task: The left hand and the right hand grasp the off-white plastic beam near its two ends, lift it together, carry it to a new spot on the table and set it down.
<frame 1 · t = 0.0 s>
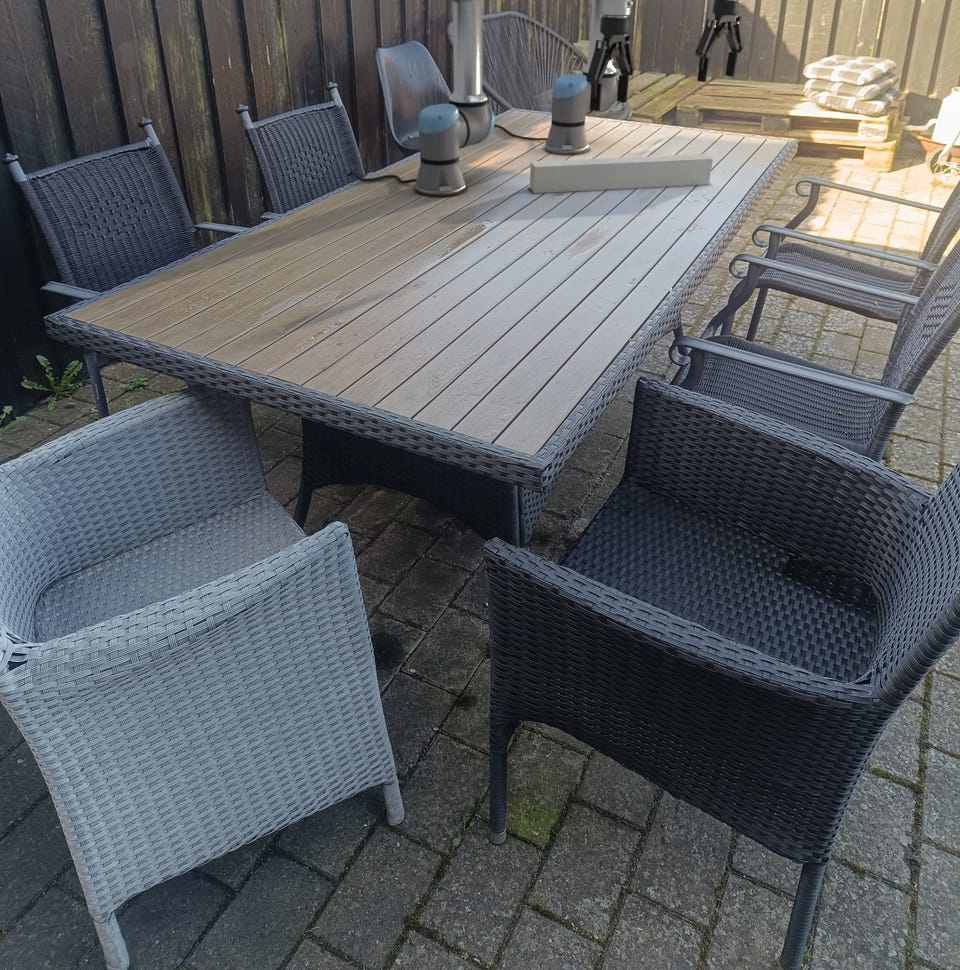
left hand: (608, 106, 226), 28 cm above the table, tool pointing down, fingers open, 13 cm apart
right hand: (715, 78, 257), 28 cm above the table, tool pointing down, fingers open, 13 cm apart
beam: (619, 186, 262), on the table
red rounded lump: (624, 173, 273), on the table
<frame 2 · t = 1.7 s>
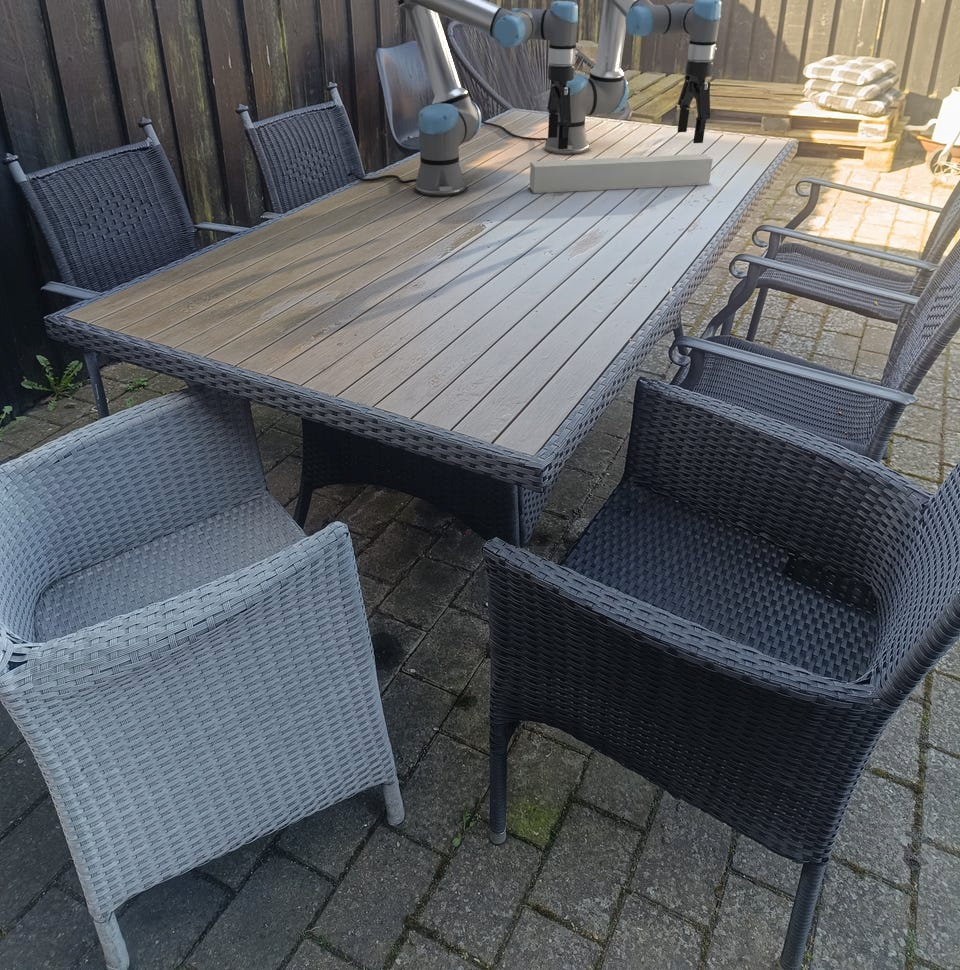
left hand: (557, 143, 251), 14 cm above the table, tool pointing down, fingers open, 13 cm apart
right hand: (689, 137, 256), 14 cm above the table, tool pointing down, fingers open, 13 cm apart
nothing on the table moved.
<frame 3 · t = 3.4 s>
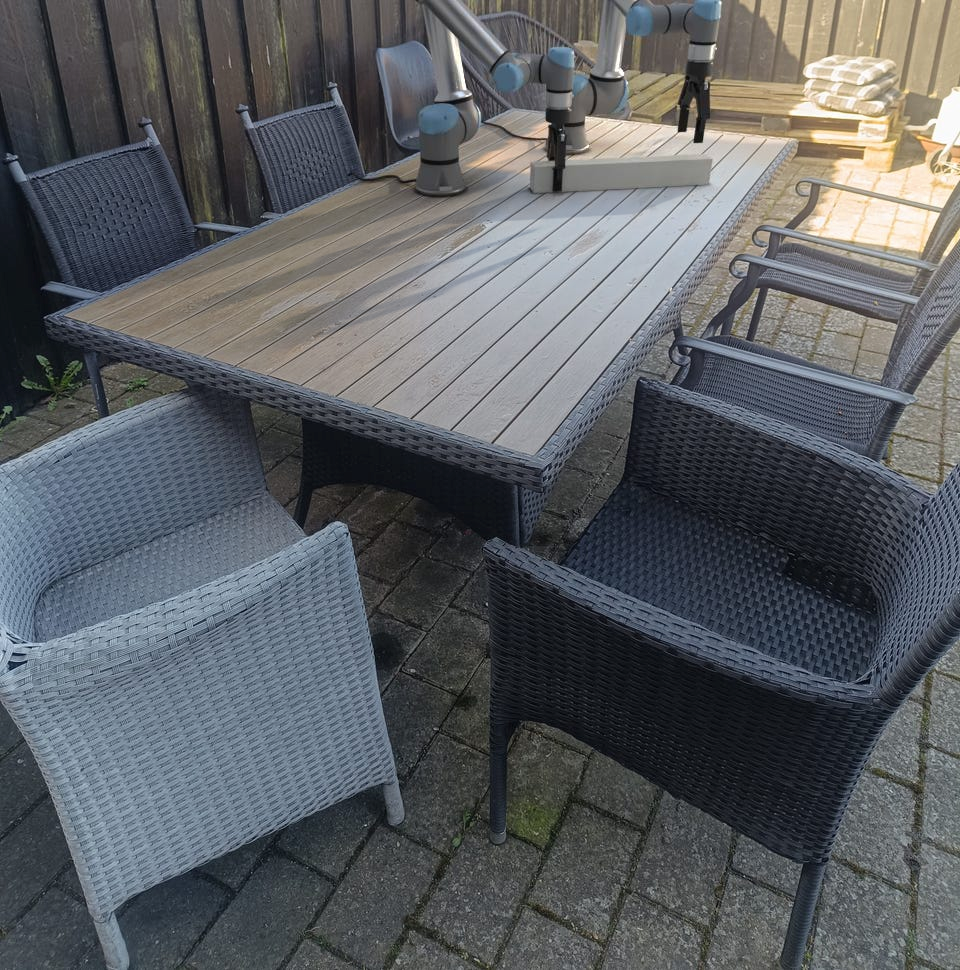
left hand: (554, 187, 259), 0 cm above the table, tool pointing down, fingers closed on beam, 6 cm apart
right hand: (689, 137, 256), 14 cm above the table, tool pointing down, fingers open, 13 cm apart
beam: (619, 186, 262), on the table, touching left hand
everything else where it was.
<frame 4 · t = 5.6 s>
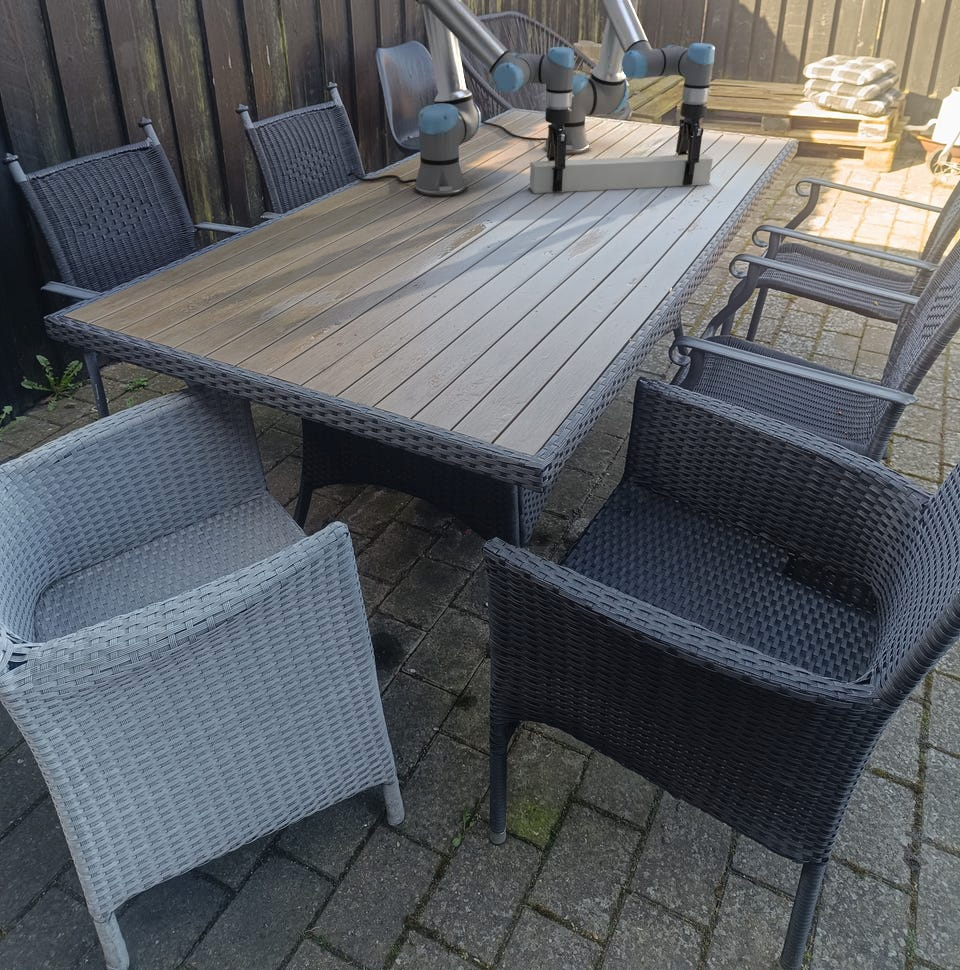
left hand: (554, 187, 259), 0 cm above the table, tool pointing down, fingers closed on beam, 6 cm apart
right hand: (683, 181, 264), 0 cm above the table, tool pointing down, fingers closed on beam, 6 cm apart
beam: (619, 186, 262), on the table, touching left hand, right hand
everything else where it was.
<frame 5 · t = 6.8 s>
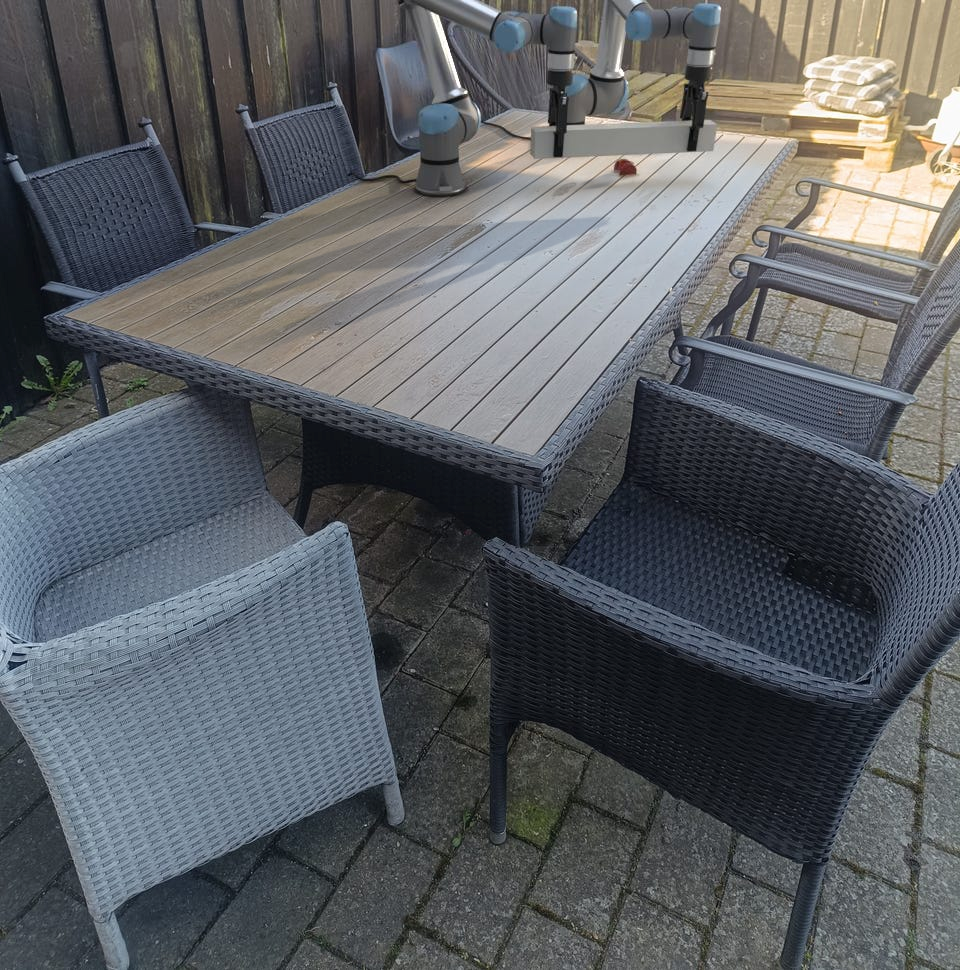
left hand: (555, 153, 253), 11 cm above the table, tool pointing down, fingers closed on beam, 6 cm apart
right hand: (687, 147, 258), 11 cm above the table, tool pointing down, fingers closed on beam, 6 cm apart
beam: (622, 152, 256), point 10 cm above the table, touching left hand, right hand
everything else where it was.
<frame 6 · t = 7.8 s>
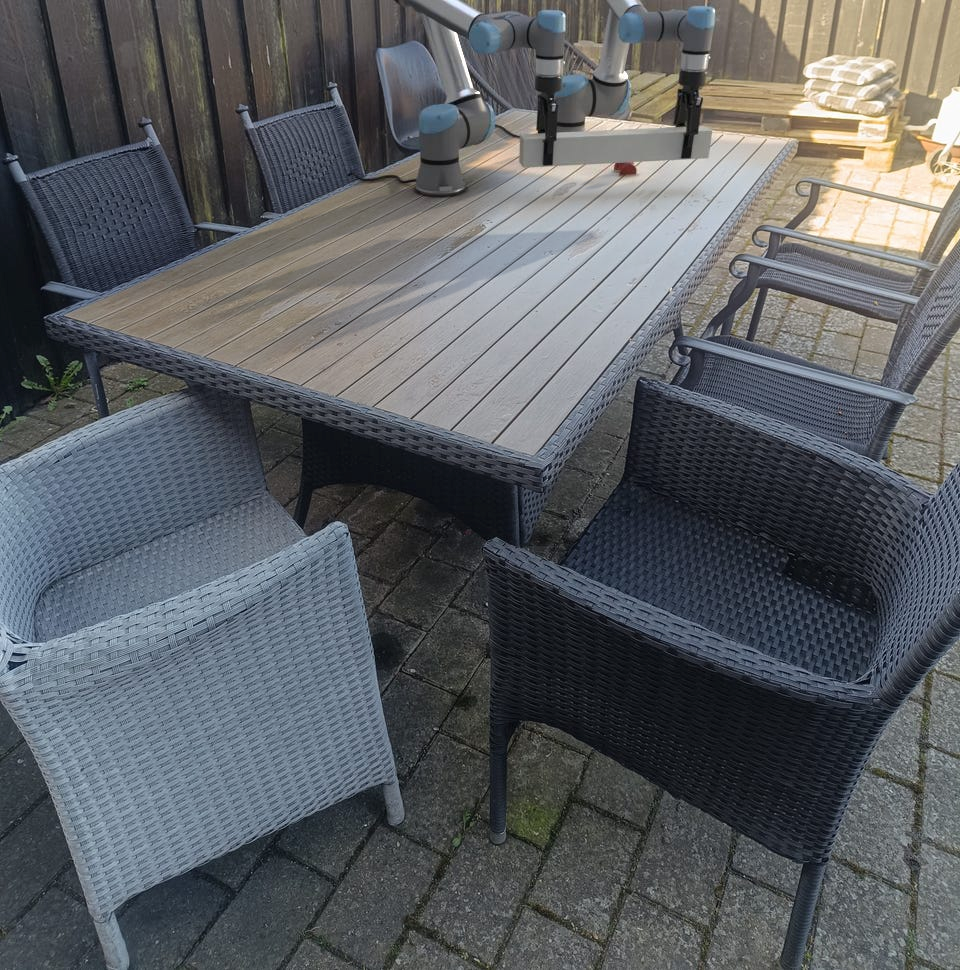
left hand: (544, 161, 245), 11 cm above the table, tool pointing down, fingers closed on beam, 6 cm apart
right hand: (681, 154, 250), 11 cm above the table, tool pointing down, fingers closed on beam, 6 cm apart
beam: (614, 160, 248), point 10 cm above the table, touching left hand, right hand
everything else where it was.
when the left hand's fingers open (1 cm above the table, at t = 10.4 s): beam stays where it is, on the table.
when the right hand's fingers open (1 cm above the table, at t = 10.4 s): beam stays where it is, on the table.
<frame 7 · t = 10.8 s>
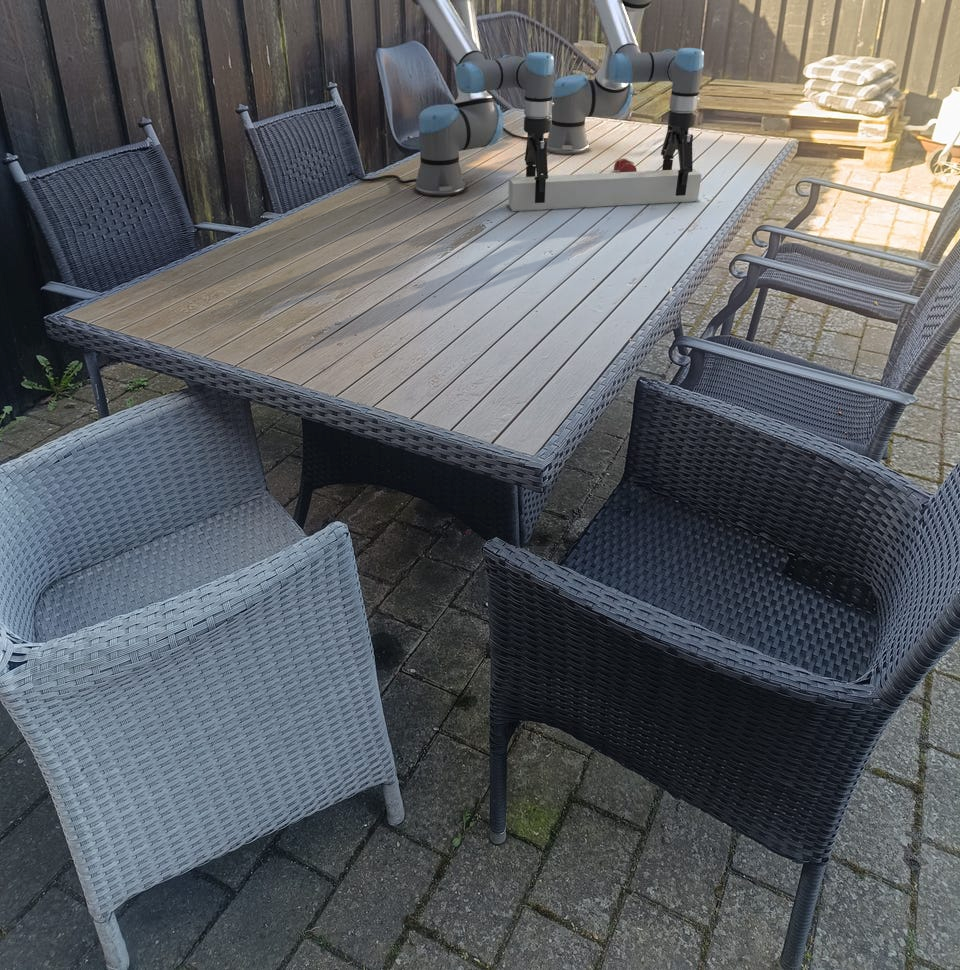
left hand: (534, 195, 243), 3 cm above the table, tool pointing down, fingers open, 12 cm apart
right hand: (672, 188, 248), 3 cm above the table, tool pointing down, fingers open, 12 cm apart
beam: (603, 203, 248), on the table
everything else where it was.
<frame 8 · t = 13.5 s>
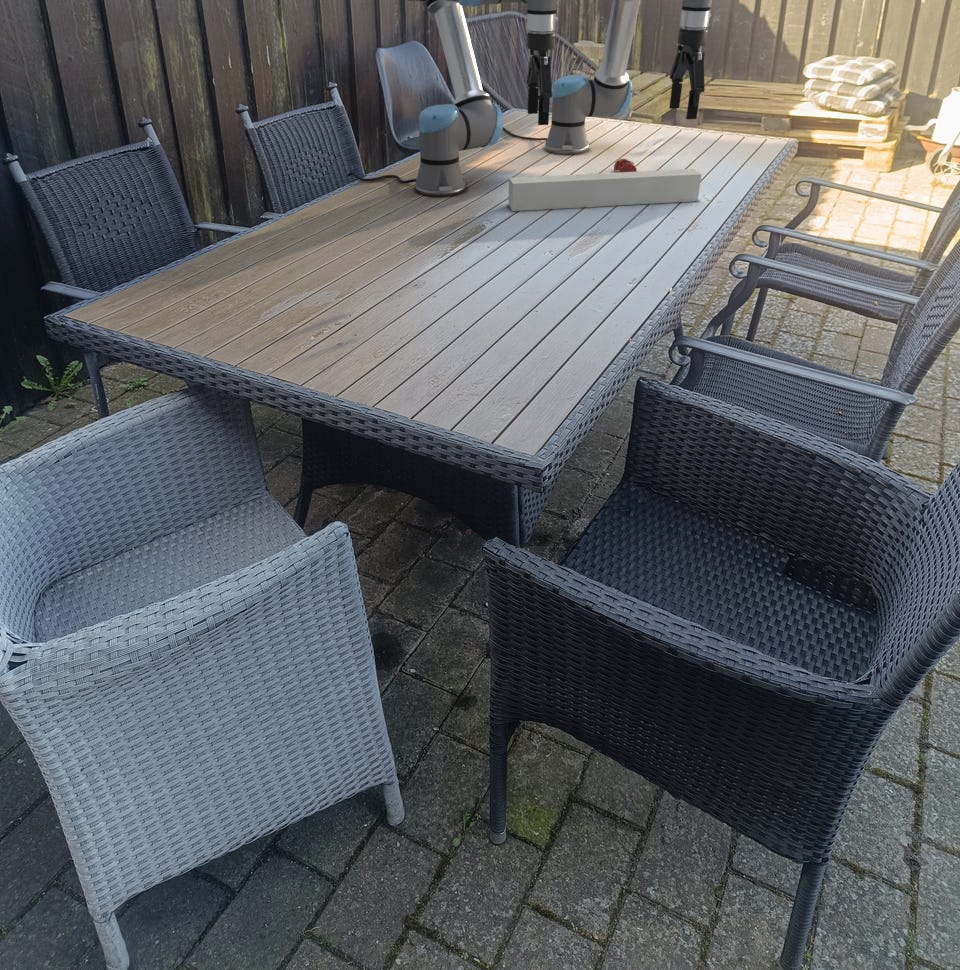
left hand: (537, 119, 231), 24 cm above the table, tool pointing down, fingers open, 13 cm apart
right hand: (682, 113, 236), 24 cm above the table, tool pointing down, fingers open, 13 cm apart
nothing on the table moved.
at the end: beam inside the target area (0.2 cm from its centre), on the table; beam tilted 0°; beam never tilted more than 2° during the clip; both hands held the beam at the same time; the left hand is holding nothing; the right hand is holding nothing; beam at rest at the end (0.0 cm/s) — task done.
